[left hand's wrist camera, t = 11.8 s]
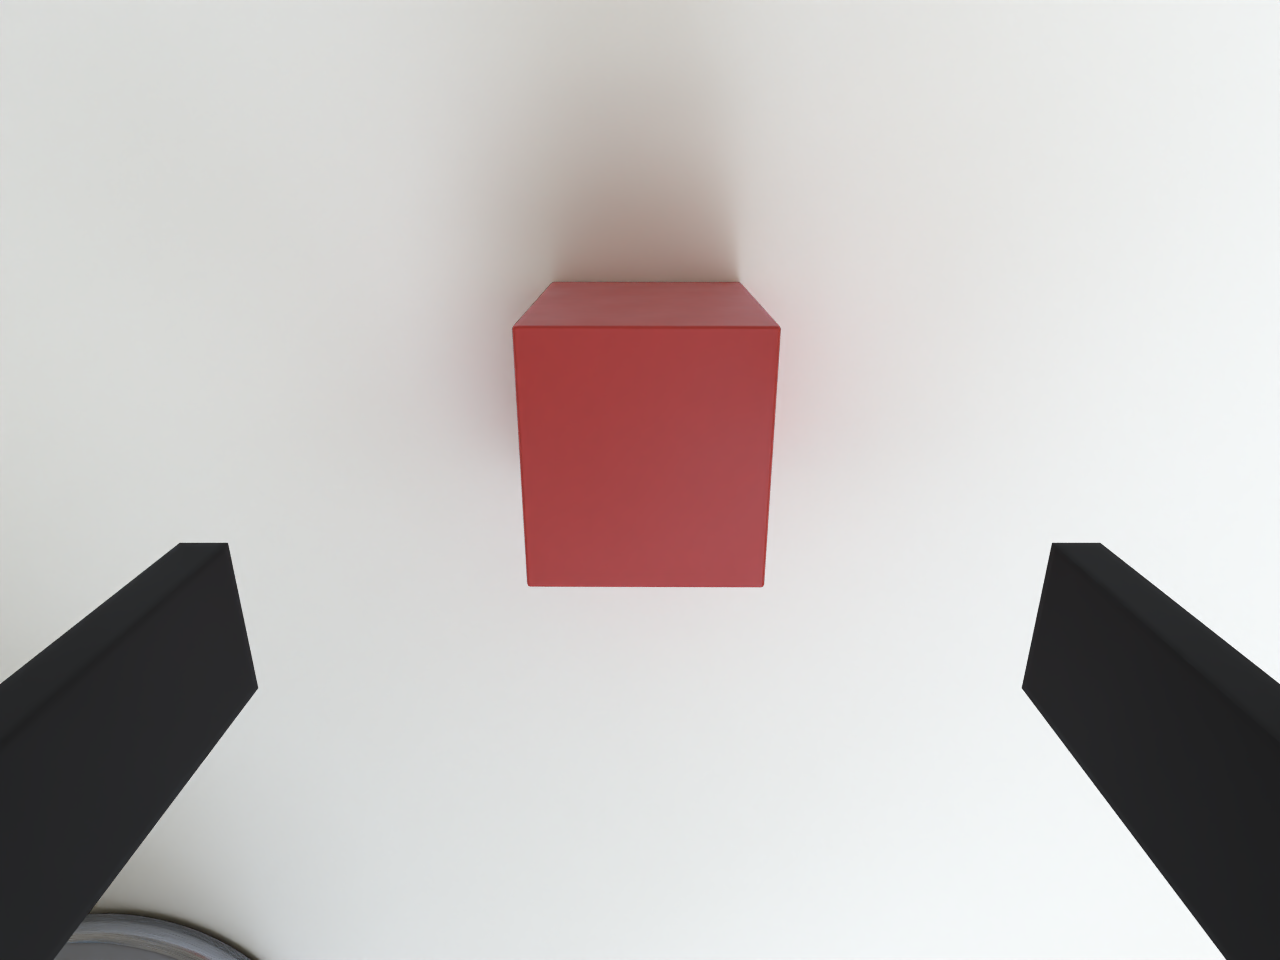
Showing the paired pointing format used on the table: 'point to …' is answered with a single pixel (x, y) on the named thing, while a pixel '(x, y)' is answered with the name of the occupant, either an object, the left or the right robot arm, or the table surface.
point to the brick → (646, 434)
